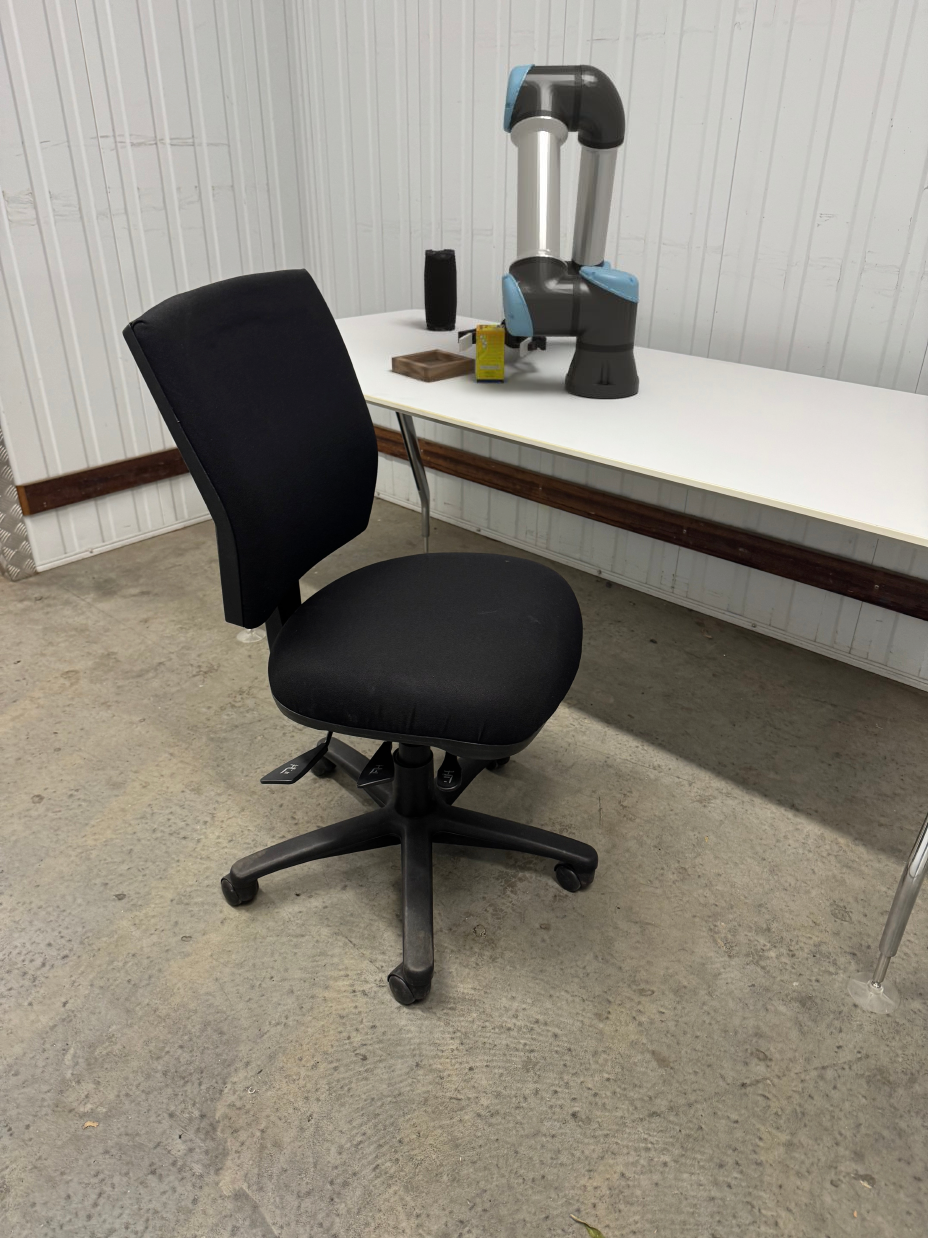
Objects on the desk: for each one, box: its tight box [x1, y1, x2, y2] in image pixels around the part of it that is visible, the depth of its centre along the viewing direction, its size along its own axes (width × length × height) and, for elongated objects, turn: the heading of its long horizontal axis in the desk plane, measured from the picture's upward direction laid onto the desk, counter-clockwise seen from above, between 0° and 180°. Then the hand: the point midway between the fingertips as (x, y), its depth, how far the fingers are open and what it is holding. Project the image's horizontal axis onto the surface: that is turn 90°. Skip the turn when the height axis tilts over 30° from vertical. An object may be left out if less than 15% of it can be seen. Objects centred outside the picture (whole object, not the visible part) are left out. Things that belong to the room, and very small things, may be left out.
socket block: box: [391, 348, 476, 383], centre depth 196 cm, size 13×13×3 cm
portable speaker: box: [423, 248, 458, 332], centre depth 234 cm, size 9×9×20 cm
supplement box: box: [475, 324, 505, 384], centre depth 188 cm, size 6×6×11 cm
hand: (490, 347), depth 189 cm, fingers open, 13 cm apart
